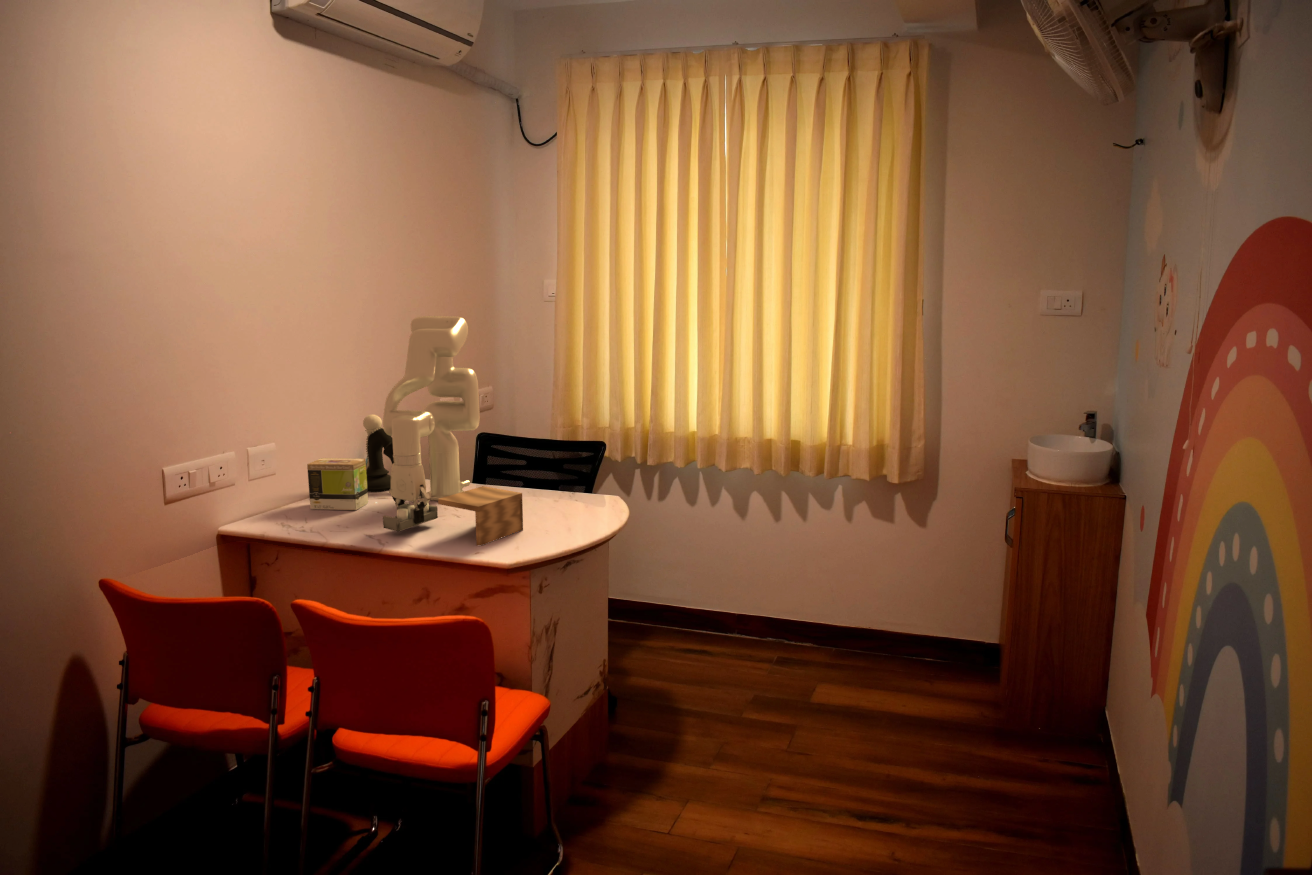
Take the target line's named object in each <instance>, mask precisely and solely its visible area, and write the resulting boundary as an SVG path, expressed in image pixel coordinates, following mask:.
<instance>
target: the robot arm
mask: <svg viewBox="0 0 1312 875" xmlns="http://www.w3.org/2000/svg"><path fill="white" fill-rule="evenodd" d="M468 325H469V324H468V322H467V321H466V319H464V318H463V317H462V316H461V317H460V316H441V315H440V316H438V315H437V316H436V315H431V316H430V315H428V316H427V315H425V316H417V317H415V318H413V319H411V323H410V331H411V334H410V336H409V338H408V347H407V354H406V363H405V370H404V376H403V377H402V378H400V380H398V382H397V383H396V384H394V386H393V387H392V389H391V390H390V391H389V393H388V394H387V396H386V399H385V402H384V409H383V417H382V428H384V431H385V433H386V434H388V435H390V436H391V437H392V439H393V457H394V463H393V464H392V463H391V465H392V466H391V468H390V475H391V489H390V490H389V491H388V493H389V494H390V496H391V497H392V500H393V502H394V505H395V507H396V511H397V510H398V508H397V506H400V505H403V504H406V502H411V503H412V505H414V507H415V509H416V510H414V523H415V524H418V523H421V522H424V508H425V506H426V505H427V503H429V502H430V501H437V502H438V499H440V498H443V497H447V496H450V495H454V494H457V493H461V492H464V491H465V490H463V488H466V487H469V486H470V485H471V482H470V480H469V479H467V480H464V481H463V480H461V479H460V454H459V450H460V448H459V441H458V439H457V438H456V436H455V435H454V434H453V431H455V432H456V431H463V432H464V431H465V432H466V431H468V432H469V431H475V430H477V429H478V427H479V425H480V421H481V420H480V419H481V418H480V416H481V415H480V414H481V413H480V412H481V411H480V410H481V409H480V396H479V394H480V393H479V392H480V391H479V381H478V376H477V373H476V372H475V370H473V369H472V368H469V367H455V366H454V360H453V359H454V357H456V356H457V355H458V354H459V353H460V351H461V350H462V347H463V346H464V345H465V343H466V341H467V339H468V336H469V326H468ZM426 387H427V392H428V393H429V395H430V396H432V397H436V398H459V399H460V398H461V399H462V401H461V400H460V401H459V400H436V401H432V402H429V403H427V405H426V406H425V407H424V410H408V409H407V410H403V409H402V410H399V409H398V407H399V405H400V403H401V401H402V400H403V399H405V398H406V397H407V396H409V395H410V394H412V393H414V392H417V391H419V390H422V389H424V388H426ZM425 437H427V440H428V443H427V444H428V459H429V460H428V461H429V462H428V463H429V466H428V468H429V491H427V483H426V476H425V470H424V466H423V464H422V448H421V438H425ZM419 502H420V504H419V505H418V503H419Z"/></svg>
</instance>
